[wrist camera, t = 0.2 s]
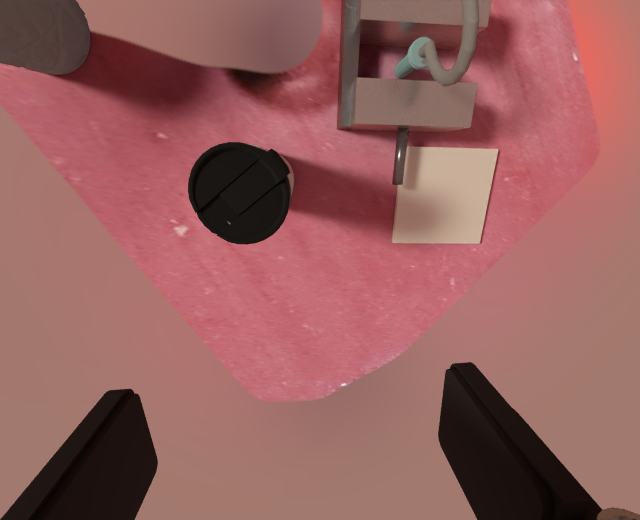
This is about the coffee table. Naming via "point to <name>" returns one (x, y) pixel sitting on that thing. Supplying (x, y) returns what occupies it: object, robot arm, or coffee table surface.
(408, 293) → the coffee table surface
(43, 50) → the grey-green cup
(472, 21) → the hook
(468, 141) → the coffee table surface
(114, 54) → the coffee table surface
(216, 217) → the travel mug
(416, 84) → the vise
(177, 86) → the coffee table surface
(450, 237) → the mat
